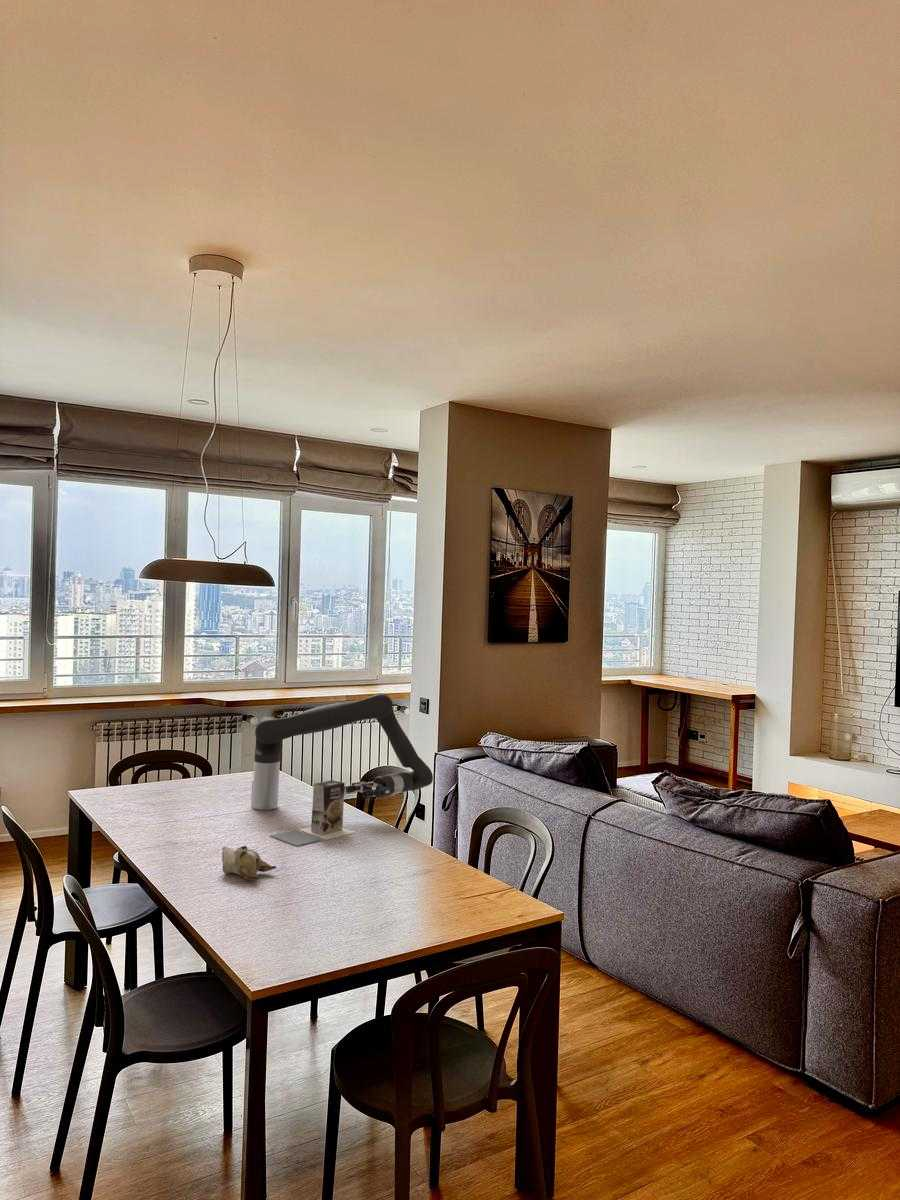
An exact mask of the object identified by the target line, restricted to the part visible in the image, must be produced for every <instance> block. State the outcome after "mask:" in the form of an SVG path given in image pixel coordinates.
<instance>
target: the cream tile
mask: <svg viewBox="0 0 900 1200" xmlns="http://www.w3.org/2000/svg"><path fill="white" fill-rule="evenodd" d="M298 831H300V832H302V833H305V834H308V835H311V836H313V837H316V838H319V839H322V840H325V841H326V840H330V839H334V838H338V837H343V836H347V835H351V834H354V833H356V831H355V830H351V829H348V828H345V827H342V830H340V831H336V832H332V833H328V834H325V835H322V834H319V833H316V832H313V831H311V826H310V827H304V828H300V829H298Z"/></svg>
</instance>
